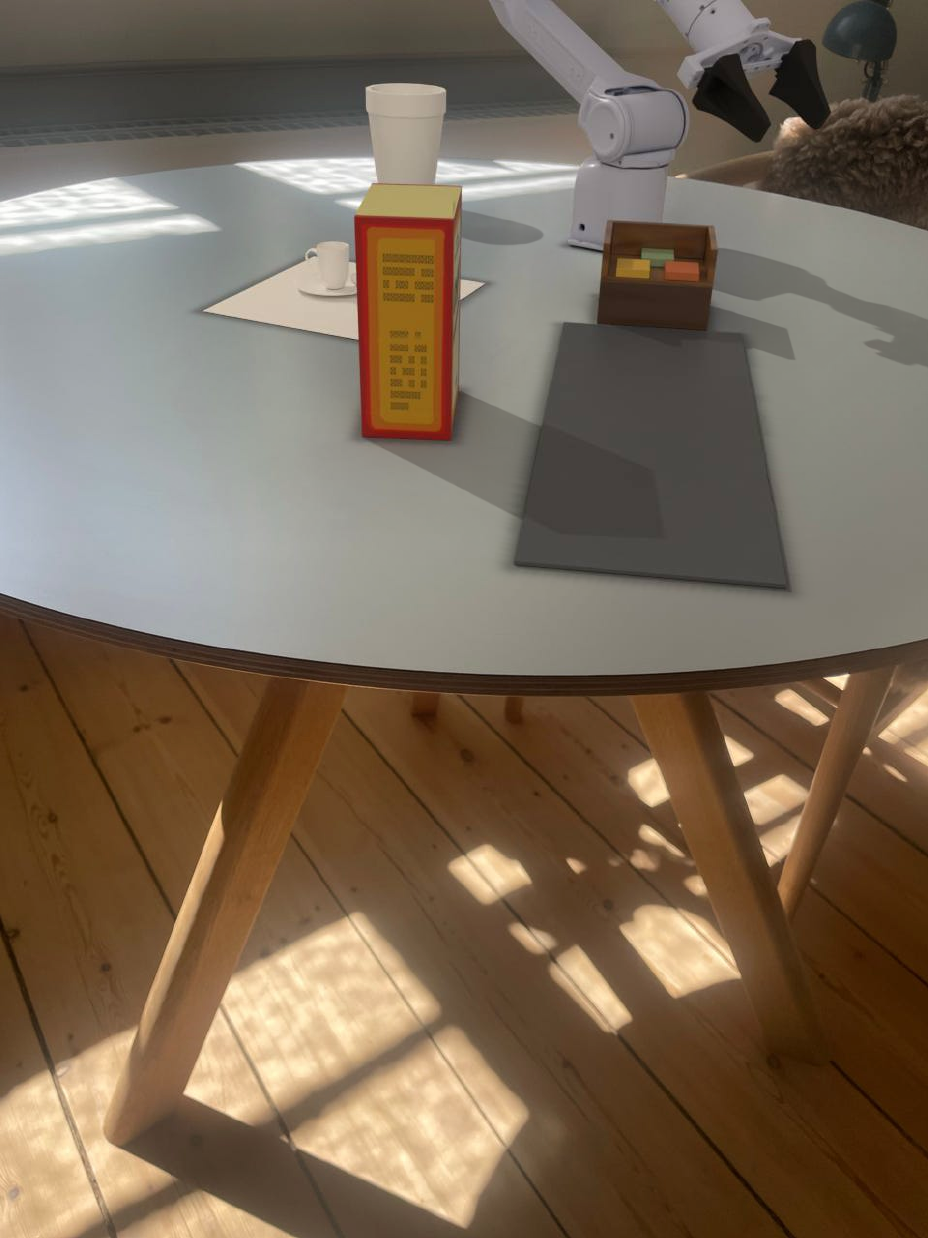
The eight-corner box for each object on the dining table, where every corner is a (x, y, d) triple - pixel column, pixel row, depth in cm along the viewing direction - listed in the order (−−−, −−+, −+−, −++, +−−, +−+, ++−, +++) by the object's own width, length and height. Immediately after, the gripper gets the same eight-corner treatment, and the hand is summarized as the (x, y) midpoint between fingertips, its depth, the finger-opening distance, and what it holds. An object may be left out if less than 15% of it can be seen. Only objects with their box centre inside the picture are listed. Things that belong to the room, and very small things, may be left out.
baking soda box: (377, 386, 90) (372, 177, 81) (459, 390, 89) (462, 180, 81) (362, 436, 82) (353, 210, 73) (450, 440, 82) (453, 213, 73)
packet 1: (648, 278, 100) (650, 269, 100) (615, 276, 101) (616, 267, 100) (649, 268, 103) (650, 259, 103) (616, 266, 103) (617, 257, 103)
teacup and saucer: (397, 283, 112) (396, 241, 110) (357, 306, 106) (356, 262, 104) (321, 270, 115) (319, 230, 113) (279, 292, 109) (275, 250, 107)
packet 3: (673, 267, 103) (674, 259, 103) (640, 265, 104) (641, 257, 103) (672, 257, 106) (673, 249, 105) (640, 256, 106) (641, 247, 106)
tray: (713, 286, 100) (718, 249, 98) (600, 280, 101) (603, 242, 99) (708, 254, 108) (713, 219, 106) (604, 248, 109) (607, 213, 107)
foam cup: (366, 195, 141) (364, 82, 134) (438, 195, 143) (440, 83, 135) (370, 213, 133) (368, 94, 126) (447, 213, 135) (449, 95, 128)
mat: (563, 325, 103) (563, 321, 102) (740, 336, 101) (741, 333, 101) (514, 564, 67) (514, 560, 67) (785, 588, 65) (786, 584, 65)
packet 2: (698, 281, 100) (699, 272, 99) (664, 279, 100) (665, 270, 100) (697, 271, 102) (698, 262, 102) (664, 269, 103) (665, 260, 102)
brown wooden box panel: (706, 330, 102) (713, 286, 100) (596, 323, 103) (600, 280, 101) (703, 302, 109) (709, 260, 106) (600, 296, 110) (604, 254, 107)
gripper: (674, -9, 99) (757, 102, 95) (791, -24, 105) (873, 79, 102) (642, 59, 105) (718, 166, 102) (754, 41, 111) (830, 140, 108)
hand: (793, 127), depth 102 cm, fingers open, 7 cm apart
